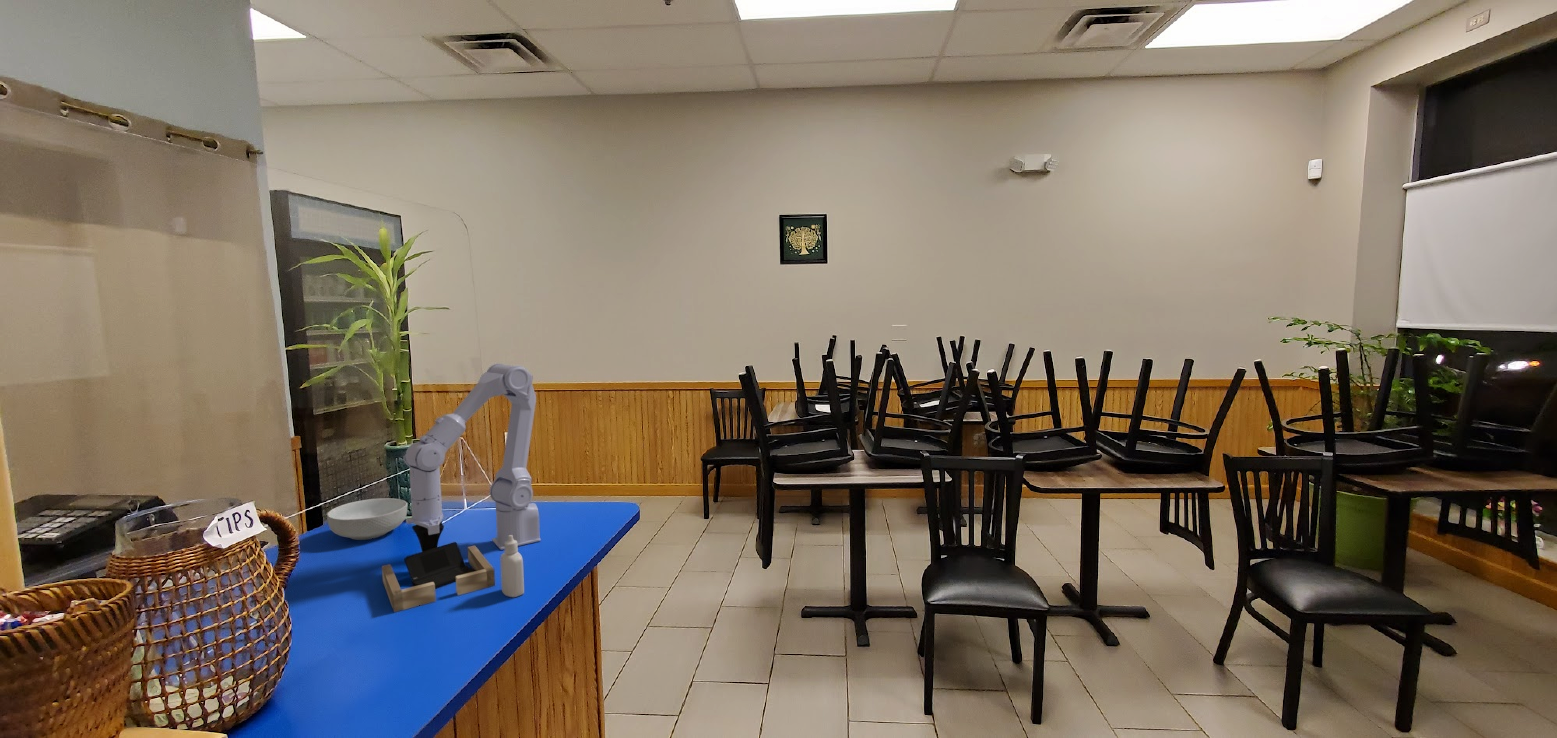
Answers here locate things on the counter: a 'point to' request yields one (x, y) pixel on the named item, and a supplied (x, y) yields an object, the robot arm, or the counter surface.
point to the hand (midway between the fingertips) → (429, 556)
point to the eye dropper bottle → (512, 569)
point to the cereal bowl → (367, 518)
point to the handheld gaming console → (437, 565)
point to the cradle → (426, 592)
